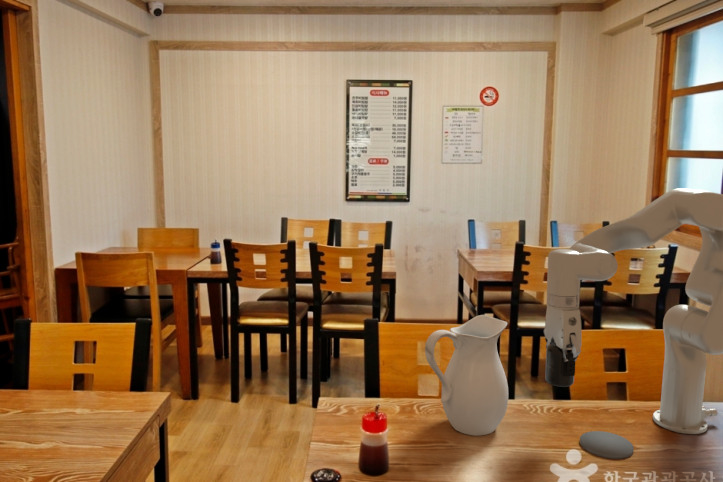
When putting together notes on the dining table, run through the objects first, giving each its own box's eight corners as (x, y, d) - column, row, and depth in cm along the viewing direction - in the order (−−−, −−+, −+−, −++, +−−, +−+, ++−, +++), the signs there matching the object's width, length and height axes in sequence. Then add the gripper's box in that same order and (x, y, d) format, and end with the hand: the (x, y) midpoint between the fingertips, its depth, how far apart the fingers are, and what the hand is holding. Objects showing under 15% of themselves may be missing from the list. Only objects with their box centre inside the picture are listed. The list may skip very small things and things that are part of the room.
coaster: (613, 432, 148) (613, 429, 148) (644, 456, 136) (644, 452, 136) (570, 436, 146) (570, 433, 146) (598, 461, 134) (598, 458, 134)
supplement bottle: (575, 388, 141) (578, 340, 139) (546, 386, 142) (548, 339, 140) (572, 377, 147) (574, 332, 146) (544, 375, 149) (545, 330, 147)
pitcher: (479, 407, 163) (482, 310, 158) (521, 432, 148) (525, 327, 143) (406, 424, 152) (407, 321, 148) (442, 454, 137) (445, 341, 133)
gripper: (597, 308, 134) (593, 382, 137) (559, 291, 151) (556, 356, 153) (566, 310, 133) (564, 385, 135) (532, 292, 149) (530, 359, 152)
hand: (560, 369), depth 144 cm, fingers closed on supplement bottle, 6 cm apart
